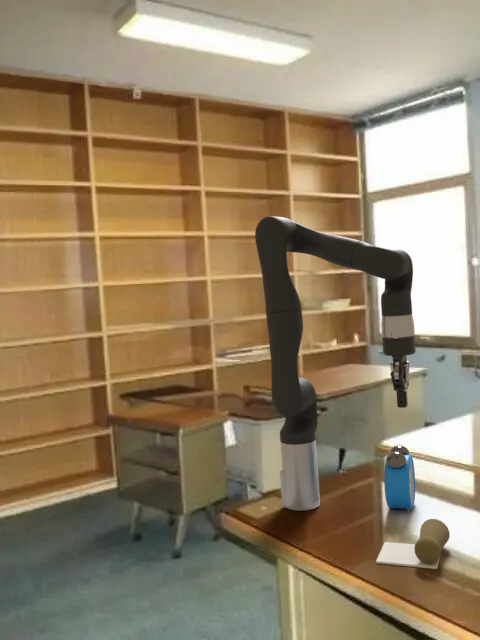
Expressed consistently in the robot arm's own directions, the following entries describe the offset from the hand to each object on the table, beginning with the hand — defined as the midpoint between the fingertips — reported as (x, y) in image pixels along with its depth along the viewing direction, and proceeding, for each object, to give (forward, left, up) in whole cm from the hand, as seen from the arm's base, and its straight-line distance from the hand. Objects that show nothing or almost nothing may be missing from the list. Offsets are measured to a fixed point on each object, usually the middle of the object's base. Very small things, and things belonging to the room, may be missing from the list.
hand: (402, 406), depth 154 cm
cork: (+8, -15, -24) cm, 29 cm away
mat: (+3, -21, -27) cm, 34 cm away
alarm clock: (-3, +7, -27) cm, 28 cm away
